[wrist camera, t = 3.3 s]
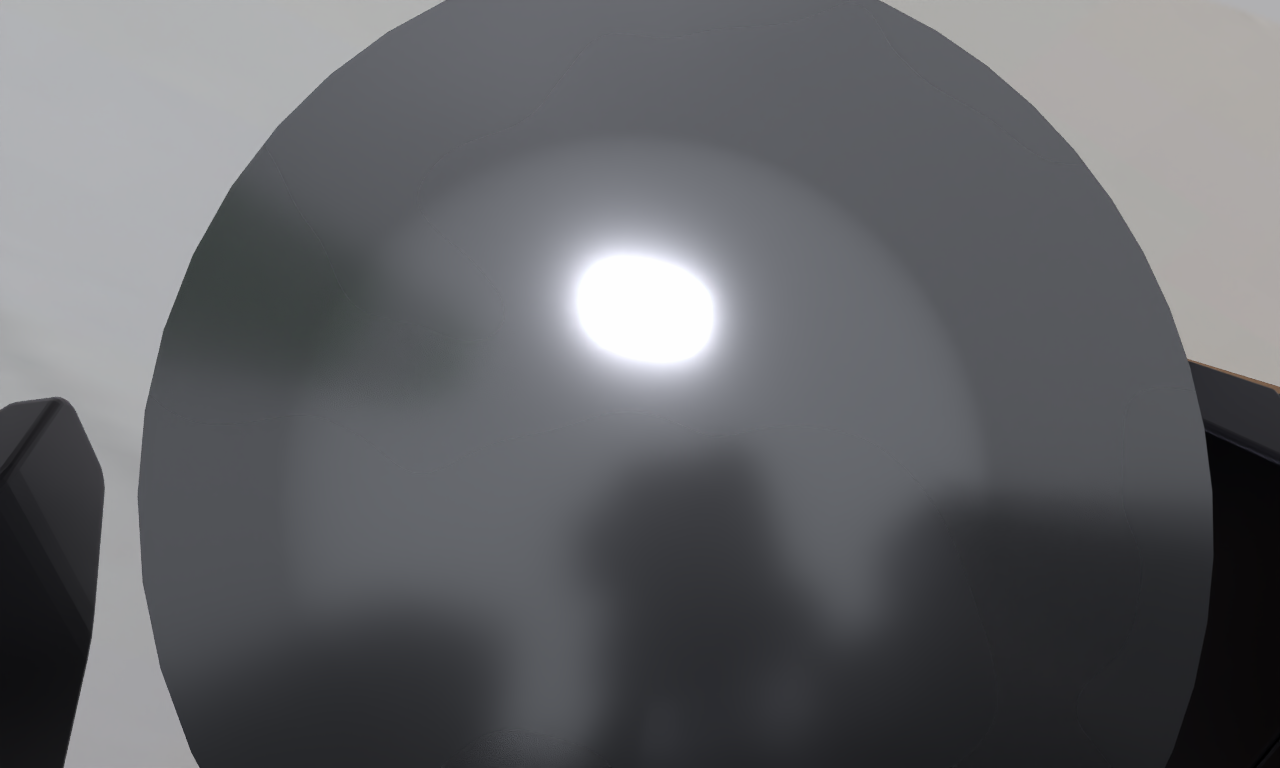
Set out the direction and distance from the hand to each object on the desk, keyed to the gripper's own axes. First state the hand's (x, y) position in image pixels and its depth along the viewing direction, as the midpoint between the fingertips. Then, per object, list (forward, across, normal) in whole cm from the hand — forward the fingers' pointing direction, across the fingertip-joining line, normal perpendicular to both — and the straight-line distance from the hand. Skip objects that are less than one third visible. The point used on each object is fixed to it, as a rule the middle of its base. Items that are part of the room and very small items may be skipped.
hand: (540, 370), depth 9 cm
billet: (+4, 0, +6) cm, 7 cm away
